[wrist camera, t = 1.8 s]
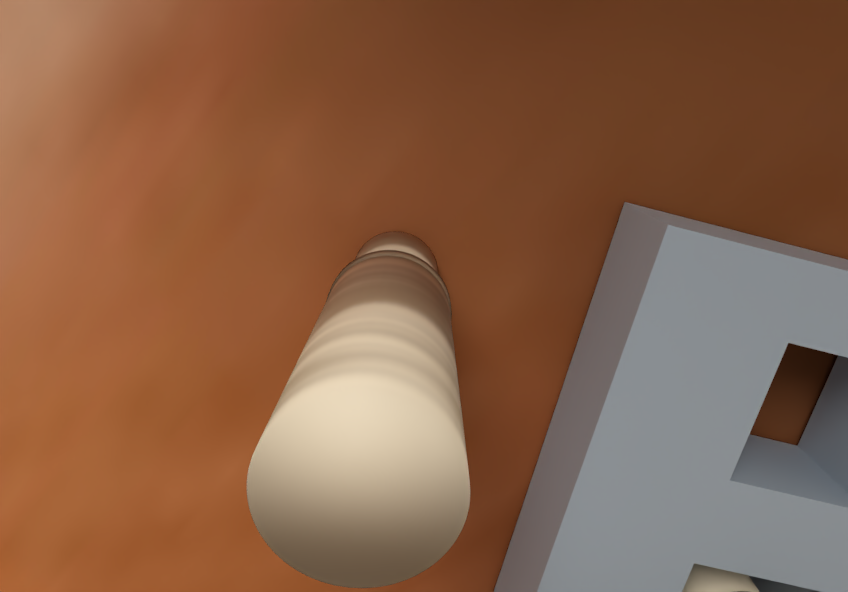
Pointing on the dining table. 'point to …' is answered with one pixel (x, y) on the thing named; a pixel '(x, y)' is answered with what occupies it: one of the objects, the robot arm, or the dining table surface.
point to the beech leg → (368, 429)
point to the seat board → (691, 424)
